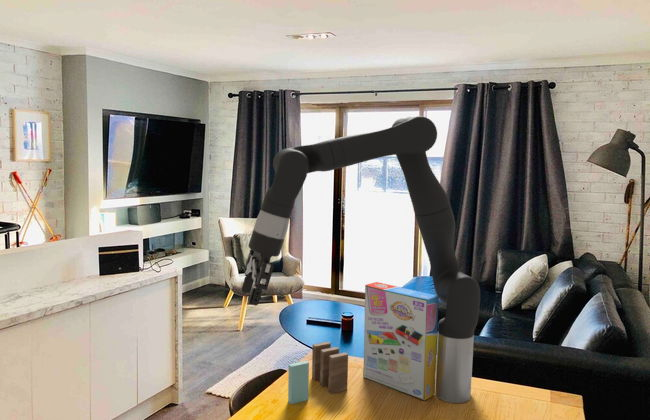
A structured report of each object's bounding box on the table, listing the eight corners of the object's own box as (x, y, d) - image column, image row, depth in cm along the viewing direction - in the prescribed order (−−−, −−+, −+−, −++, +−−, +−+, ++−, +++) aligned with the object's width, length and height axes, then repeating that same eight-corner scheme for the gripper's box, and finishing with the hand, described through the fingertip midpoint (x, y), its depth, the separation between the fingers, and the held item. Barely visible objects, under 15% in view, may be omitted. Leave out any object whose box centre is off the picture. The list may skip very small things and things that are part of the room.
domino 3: (347, 389, 141) (348, 354, 140) (331, 393, 139) (332, 357, 137) (344, 387, 143) (344, 352, 141) (328, 391, 140) (329, 355, 139)
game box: (435, 395, 139) (440, 295, 136) (424, 402, 135) (429, 299, 132) (373, 371, 153) (376, 280, 150) (361, 377, 149) (364, 284, 146)
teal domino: (308, 399, 135) (308, 362, 134) (291, 404, 133) (291, 366, 131) (305, 397, 136) (305, 360, 135) (288, 401, 134) (288, 364, 133)
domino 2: (338, 383, 145) (339, 348, 144) (322, 387, 142) (323, 351, 141) (335, 380, 146) (336, 346, 145) (319, 384, 144) (320, 349, 143)
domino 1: (330, 377, 149) (330, 343, 148) (314, 380, 146) (315, 346, 145) (327, 374, 150) (327, 341, 149) (311, 378, 148) (312, 344, 146)
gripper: (292, 243, 116) (271, 312, 117) (276, 229, 129) (257, 291, 130) (261, 235, 113) (239, 305, 114) (247, 222, 126) (228, 285, 127)
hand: (248, 298), depth 122 cm, fingers open, 8 cm apart
